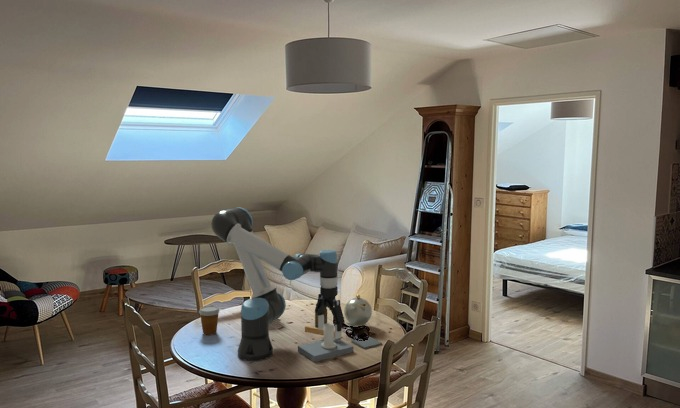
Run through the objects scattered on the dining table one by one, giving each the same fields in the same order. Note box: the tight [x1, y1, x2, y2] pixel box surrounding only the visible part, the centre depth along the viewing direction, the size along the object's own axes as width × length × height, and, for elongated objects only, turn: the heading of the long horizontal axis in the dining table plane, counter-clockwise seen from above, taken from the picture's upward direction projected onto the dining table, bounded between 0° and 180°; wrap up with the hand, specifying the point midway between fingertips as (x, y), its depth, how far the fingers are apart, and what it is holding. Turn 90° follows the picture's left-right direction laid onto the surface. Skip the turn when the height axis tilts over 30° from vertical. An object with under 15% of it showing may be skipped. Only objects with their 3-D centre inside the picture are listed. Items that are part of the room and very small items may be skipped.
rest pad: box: [351, 336, 383, 350], centre depth 252 cm, size 10×10×1 cm
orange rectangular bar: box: [304, 325, 342, 340], centre depth 251 cm, size 18×3×3 cm, turn 62°
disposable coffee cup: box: [198, 305, 220, 336], centre depth 264 cm, size 10×10×12 cm
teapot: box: [343, 294, 373, 327], centre depth 275 cm, size 18×14×16 cm
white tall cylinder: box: [321, 322, 336, 349], centre depth 241 cm, size 7×7×12 cm
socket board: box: [297, 338, 354, 363], centre depth 242 cm, size 20×14×4 cm
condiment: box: [311, 303, 328, 328], centre depth 272 cm, size 7×8×12 cm
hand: (329, 333), depth 241 cm, fingers open, 13 cm apart
